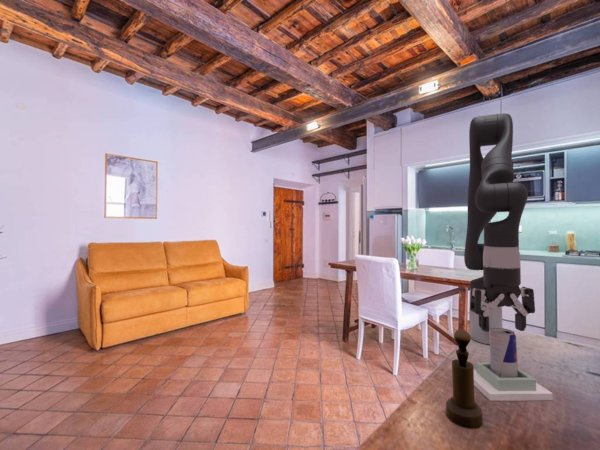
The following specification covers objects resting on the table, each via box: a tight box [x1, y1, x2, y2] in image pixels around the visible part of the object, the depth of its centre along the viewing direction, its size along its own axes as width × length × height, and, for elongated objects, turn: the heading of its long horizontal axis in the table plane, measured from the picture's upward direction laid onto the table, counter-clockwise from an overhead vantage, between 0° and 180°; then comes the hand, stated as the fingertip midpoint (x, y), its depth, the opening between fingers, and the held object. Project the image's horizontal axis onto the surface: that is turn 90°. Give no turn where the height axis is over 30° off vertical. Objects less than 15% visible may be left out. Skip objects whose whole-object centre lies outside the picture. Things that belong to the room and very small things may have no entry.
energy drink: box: [489, 327, 518, 378], centre depth 70 cm, size 5×5×12 cm
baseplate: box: [474, 361, 554, 402], centre depth 70 cm, size 11×14×4 cm
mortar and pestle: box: [445, 329, 483, 429], centre depth 59 cm, size 7×6×18 cm
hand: (502, 330), depth 71 cm, fingers open, 8 cm apart
